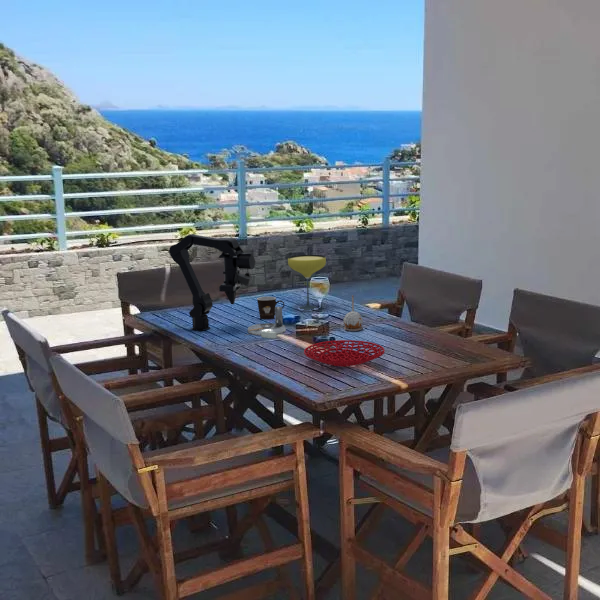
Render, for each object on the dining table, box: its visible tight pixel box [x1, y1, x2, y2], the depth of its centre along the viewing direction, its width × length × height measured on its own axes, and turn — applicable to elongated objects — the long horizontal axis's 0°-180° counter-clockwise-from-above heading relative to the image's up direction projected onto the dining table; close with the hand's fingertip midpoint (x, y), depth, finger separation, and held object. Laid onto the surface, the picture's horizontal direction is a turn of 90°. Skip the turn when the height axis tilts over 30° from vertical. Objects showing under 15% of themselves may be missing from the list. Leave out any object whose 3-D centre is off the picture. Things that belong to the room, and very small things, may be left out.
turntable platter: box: [247, 306, 287, 337], centre depth 346 cm, size 16×16×10 cm
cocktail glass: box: [287, 254, 327, 310], centre depth 391 cm, size 18×18×25 cm
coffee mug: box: [256, 296, 285, 320], centre depth 371 cm, size 12×9×10 cm
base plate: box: [243, 330, 277, 339], centre depth 346 cm, size 20×20×4 cm
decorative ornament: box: [343, 294, 363, 332], centre depth 348 cm, size 8×8×15 cm
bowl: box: [303, 339, 386, 368], centre depth 299 cm, size 29×29×5 cm
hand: (232, 304), depth 350 cm, fingers closed
